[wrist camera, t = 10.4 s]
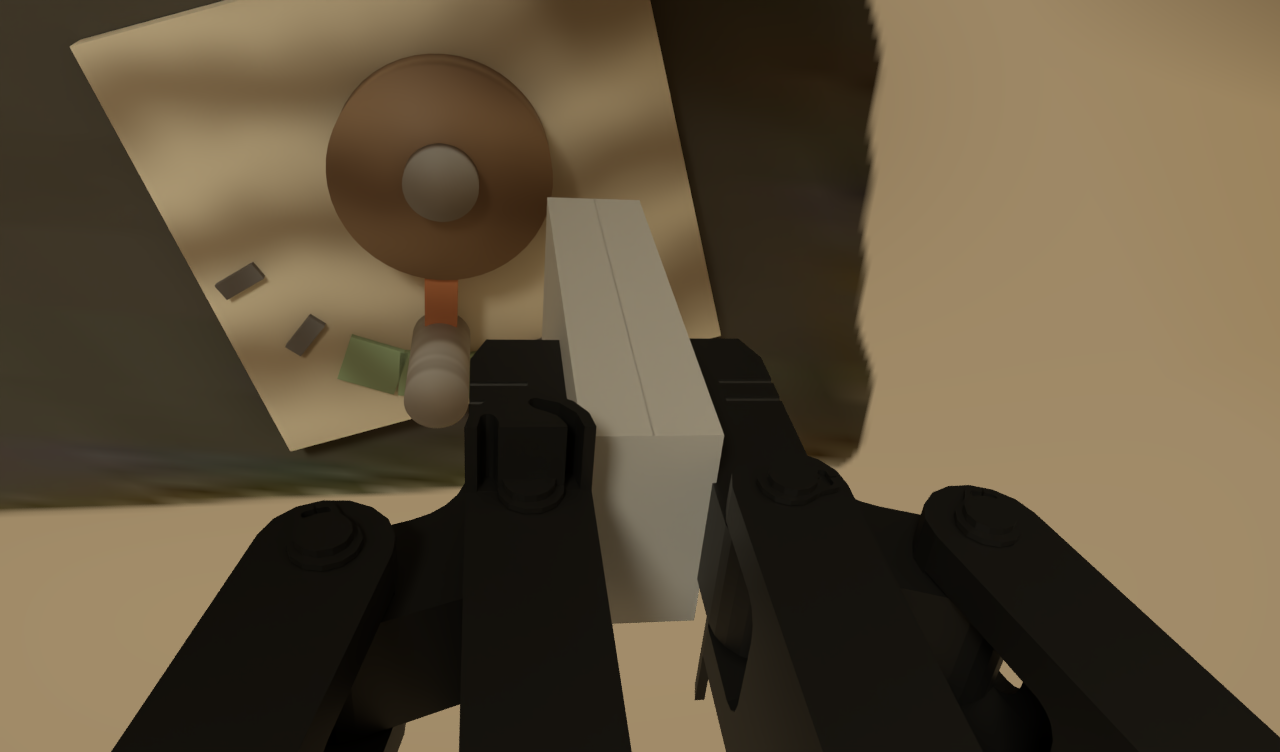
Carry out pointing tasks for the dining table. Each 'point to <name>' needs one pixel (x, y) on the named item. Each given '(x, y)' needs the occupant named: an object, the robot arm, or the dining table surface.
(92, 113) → the dining table surface
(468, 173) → the dial
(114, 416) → the dining table surface
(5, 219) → the dining table surface
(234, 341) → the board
